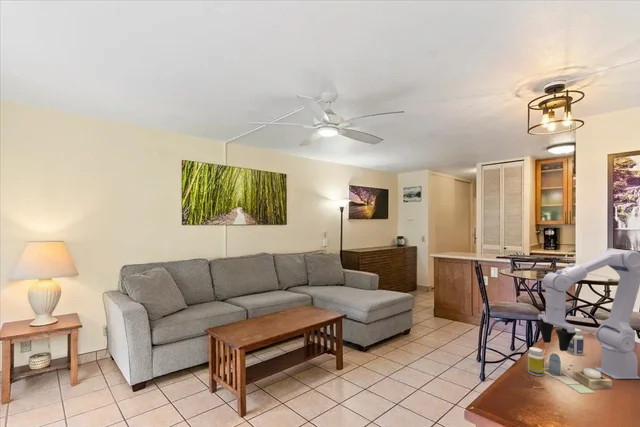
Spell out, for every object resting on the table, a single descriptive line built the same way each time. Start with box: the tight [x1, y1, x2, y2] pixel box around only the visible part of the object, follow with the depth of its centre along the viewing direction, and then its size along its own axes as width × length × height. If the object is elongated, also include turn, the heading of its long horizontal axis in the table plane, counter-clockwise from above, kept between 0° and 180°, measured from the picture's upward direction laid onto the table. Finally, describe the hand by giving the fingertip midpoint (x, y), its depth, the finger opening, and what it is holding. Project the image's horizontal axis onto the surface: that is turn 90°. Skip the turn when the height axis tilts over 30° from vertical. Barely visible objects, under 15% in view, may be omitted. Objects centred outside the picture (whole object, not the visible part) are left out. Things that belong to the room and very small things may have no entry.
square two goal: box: [567, 383, 596, 394], centre depth 107 cm, size 5×5×1 cm
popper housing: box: [572, 370, 613, 390], centre depth 111 cm, size 7×7×3 cm
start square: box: [544, 367, 571, 379], centre depth 118 cm, size 6×6×1 cm
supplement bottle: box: [527, 346, 545, 377], centre depth 117 cm, size 5×5×8 cm
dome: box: [583, 367, 602, 379], centre depth 111 cm, size 4×4×3 cm
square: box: [555, 376, 581, 385], centre depth 112 cm, size 5×5×1 cm
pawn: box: [548, 353, 562, 376], centre depth 118 cm, size 3×3×7 cm
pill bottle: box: [566, 327, 585, 356], centre depth 136 cm, size 5×5×10 cm
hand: (554, 346), depth 118 cm, fingers open, 7 cm apart
